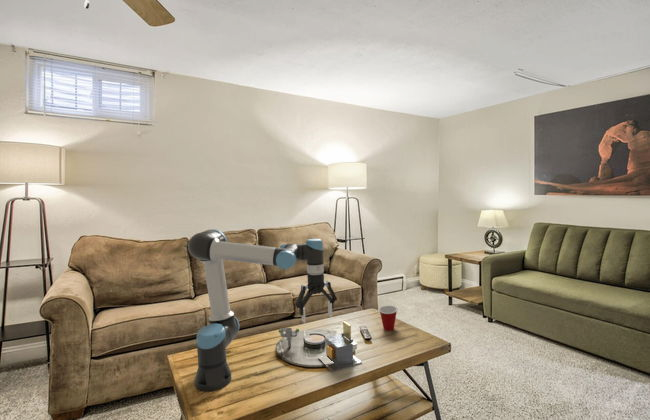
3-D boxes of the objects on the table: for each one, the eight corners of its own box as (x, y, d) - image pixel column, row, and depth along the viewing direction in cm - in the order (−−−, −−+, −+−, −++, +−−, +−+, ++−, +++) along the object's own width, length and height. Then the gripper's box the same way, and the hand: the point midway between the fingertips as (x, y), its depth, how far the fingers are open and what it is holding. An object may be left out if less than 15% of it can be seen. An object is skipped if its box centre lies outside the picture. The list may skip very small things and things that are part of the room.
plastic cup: (375, 328, 198) (374, 308, 198) (388, 323, 205) (388, 304, 204) (388, 334, 190) (387, 313, 189) (401, 329, 196) (401, 309, 195)
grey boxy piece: (331, 372, 153) (330, 348, 152) (318, 358, 165) (317, 336, 164) (361, 363, 160) (361, 339, 159) (346, 350, 172) (346, 329, 171)
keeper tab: (351, 339, 161) (349, 340, 161) (344, 335, 167) (343, 335, 166) (350, 325, 161) (349, 325, 160) (344, 321, 166) (343, 321, 166)
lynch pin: (331, 359, 158) (331, 349, 157) (327, 355, 162) (326, 345, 162) (358, 352, 164) (357, 342, 164) (352, 348, 168) (352, 338, 168)
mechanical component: (299, 348, 176) (298, 329, 175) (279, 349, 176) (278, 330, 176) (299, 346, 179) (298, 327, 178) (280, 346, 179) (279, 327, 179)
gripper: (292, 278, 146) (294, 327, 147) (343, 271, 157) (344, 316, 158) (286, 275, 153) (288, 321, 154) (335, 267, 164) (337, 311, 165)
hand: (317, 319), depth 156 cm, fingers open, 13 cm apart
